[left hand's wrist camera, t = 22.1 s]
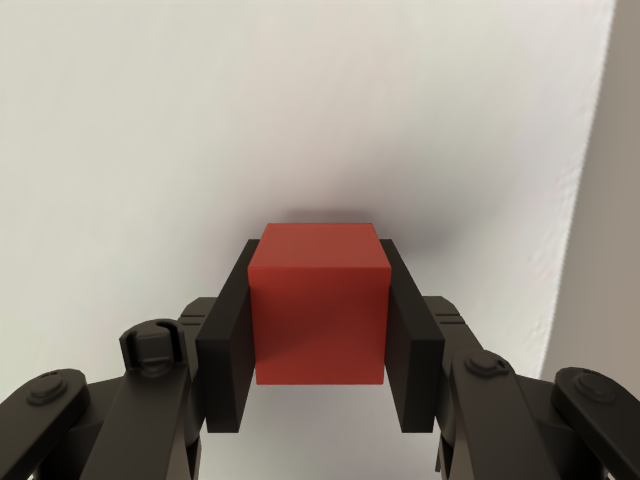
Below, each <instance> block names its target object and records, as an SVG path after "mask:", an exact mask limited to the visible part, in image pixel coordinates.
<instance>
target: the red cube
mask: <svg viewBox="0 0 640 480" xmlns="http://www.w3.org/2000/svg"><path fill="white" fill-rule="evenodd" d="M248 280H249V286H250V293H251V306H252V320H253V333H254V347H255V360H256V364H255V370H256V383H257V384H258V385H382V384H383V381H384V366H385V350H386V336H387V322H388V308H389V294H390V282H391V266H390V264H389V261H388V259H387V257H386V255H385V252H384V250H383V248H382V245H381V243H380V241H379V239H378V236H377V234H376V232H375V230H374V227H373V225H372V224H371V223H291V224H267V227H266V229H265V231H264V233H263V235H262V238H261V240H260V242H259V244H258V246H257V249H256V251H255V253H254V255H253V257H252V260H251V262H250V264H249V266H248Z"/></svg>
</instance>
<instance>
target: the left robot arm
mask: <svg viewBox="0 0 640 480" xmlns="http://www.w3.org/2000/svg"><path fill="white" fill-rule="evenodd" d="M260 240H261V239H249V240H248V242H247V244H246V246H245V248H244V249H243V251H242V253H241V255H240V257H239V259H238V261H237V262H236V264H235V266H234V268H233V270H232V272H231V274H230V275H229V277H228V279H227V281H226V283H225V285H224V287H223V289H222V290H221V292H220V294H219V296H218V297H199V298H197V299H196V300H195V301H193V302H192V303H190V304H189V305H187V306H186V308H185V309H184V311H183V312H182V314H181V317H179V318H178V320H177V321H176V320H172V319H155V320H150V321H145V322H143V323H140V324H138V325H135V326H133V327H132V328H130V329H129V330H127V331H126V332H124V334H123V335H122V336H121V337H120V338H119V341H120V345H121V350H122V354H123V359H124V363H125V368H126V372H125V374H124V376H122V377H118V378H115V379H110V380H106V381H101V382H96V383H92V384H87V382H86V378H85V375H84V374H83V373H82V372H81V371H80V370H75V369H61V370H55V371H51V372H47V373H44V374H42V375H40V376H38V377H36V378H34V379H32V380H30V381H28V382H27V383H25V384H24V385H22V386H21V387H20V388H18V389H17V390H16V391H15V392H13V393H12V394H11V395H10V396H9V397H8V398H7V399H6V400H5V401H3V402H2V403H1V404H0V480H27V479H28V478H29V477H30V476H31V474H33V477H34V478H33V479H32V480H198V475H199V466H200V457H201V441H200V434H199V433H200V430H201V427H202V424H203V422H204V419H205V417H206V424H207V431H208V433H238V432H239V428H240V424H241V420H242V416H243V412H244V408H245V404H246V400H247V396H248V392H249V388H250V384H251V380H252V376H253V372H254V368H255V364H256V360H255V347H254V333H253V320H252V306H251V293H250V286H249V280H248V266H249V264H250V262H251V260H252V257H253V255H254V253H255V251H256V249H257V246H258V244H259V242H260ZM379 241H380V243H381V245H382V248H383V250H384V252H385V255H386V257H387V259H388V261H389V264H390V266H391V282H390V294H389V308H388V322H387V336H386V350H385V367H386V371H387V375H388V379H389V383H390V387H391V391H392V395H393V399H394V403H395V407H396V411H397V415H398V419H399V423H400V427H401V431H402V433H433V426H434V419H435V416H436V419H437V422H438V425H439V427H440V430H441V434H440V441H439V448H438V454H437V461H436V468H435V471H436V472H440V469H441V474H442V480H610V479H609V478H608V473H610V474H611V475H612V476H613V477H614V478H615V480H640V401H638V400H637V399H636V398H635V397H634V396H633V395H632V394H630V393H629V392H628V391H627V390H626V389H625V388H624V387H622V386H621V385H619V384H618V383H617V382H615V381H614V380H612V379H610V378H608V377H606V376H604V375H602V374H600V373H598V372H595V371H591V370H589V369H584V368H576V367H568V368H563V369H561V370H560V371H558V372H557V373H556V376H555V379H554V383H551V382H547V381H542V380H537V379H533V378H528V377H524V376H521V375H517V374H516V373H515V371H514V369H513V368H512V366H511V365H510V364H509V362H507V361H506V360H505V359H503V358H502V357H501V356H499V355H497V354H495V353H492V352H490V351H488V350H484V349H483V348H482V346H481V345H480V343H479V342H478V340H477V339H476V337H475V336H474V334H473V333H472V331H471V330H470V328H469V327H468V325H467V324H465V321H464V319H463V318H462V316H460V313H459V312H458V310H457V309H456V308H455V306H454V305H453V304H452V303H451V302H449V301H448V300H446V299H445V298H443V297H442V296H422V295H421V294H420V292H419V290H418V288H417V286H416V284H415V282H414V280H413V279H412V277H411V275H410V273H409V271H408V269H407V267H406V266H405V264H404V262H403V260H402V258H401V256H400V254H399V253H398V251H397V249H396V247H395V245H394V243H393V241H392V240H391V239H379Z"/></svg>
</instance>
